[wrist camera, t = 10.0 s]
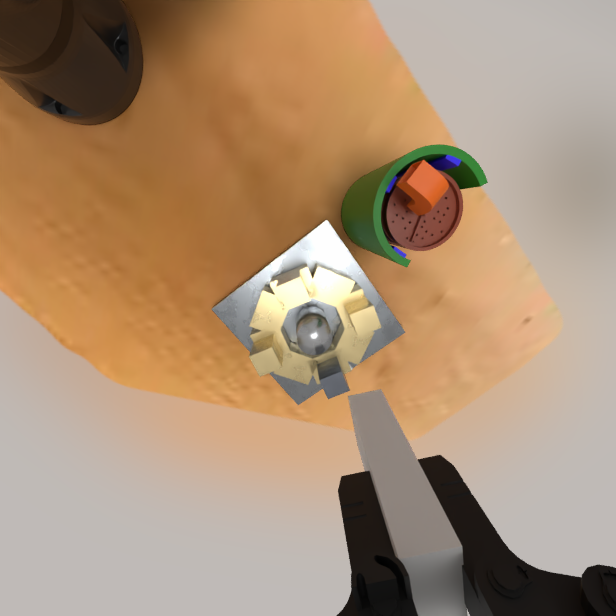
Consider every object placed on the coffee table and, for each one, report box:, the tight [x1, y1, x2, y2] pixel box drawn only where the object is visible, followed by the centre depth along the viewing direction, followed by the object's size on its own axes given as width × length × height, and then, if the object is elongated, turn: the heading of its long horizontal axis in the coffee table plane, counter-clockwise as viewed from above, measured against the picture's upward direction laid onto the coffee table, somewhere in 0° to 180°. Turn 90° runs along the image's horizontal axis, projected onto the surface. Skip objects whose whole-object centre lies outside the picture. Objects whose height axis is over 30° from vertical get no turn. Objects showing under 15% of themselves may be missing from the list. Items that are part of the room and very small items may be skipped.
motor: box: [341, 145, 487, 267], centre depth 30 cm, size 10×9×20 cm
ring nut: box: [249, 263, 382, 399], centre depth 39 cm, size 16×16×7 cm
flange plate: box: [212, 220, 405, 405], centre depth 40 cm, size 20×20×8 cm
